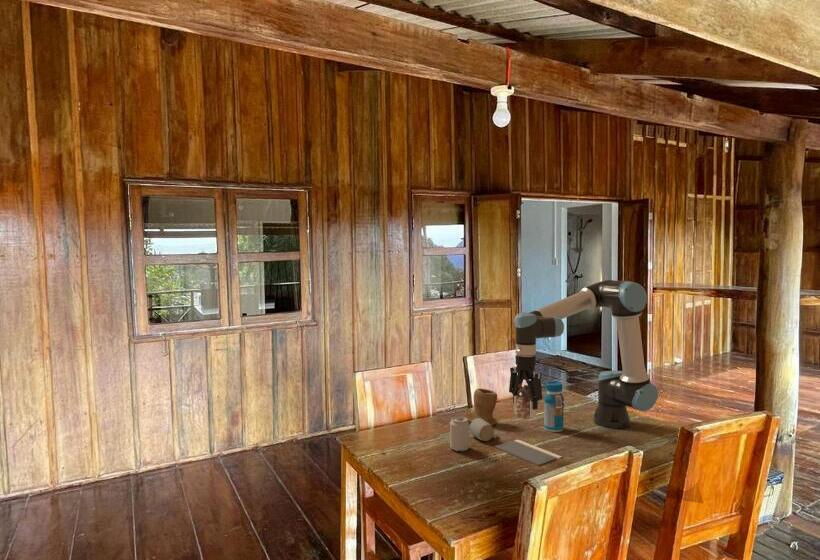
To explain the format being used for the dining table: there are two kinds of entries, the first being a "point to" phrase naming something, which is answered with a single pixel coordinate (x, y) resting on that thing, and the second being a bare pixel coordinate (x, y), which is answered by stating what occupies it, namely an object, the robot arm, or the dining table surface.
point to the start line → (538, 449)
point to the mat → (525, 453)
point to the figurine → (523, 403)
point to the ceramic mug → (482, 430)
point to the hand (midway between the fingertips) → (525, 414)
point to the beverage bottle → (553, 407)
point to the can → (459, 434)
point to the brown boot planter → (483, 406)
